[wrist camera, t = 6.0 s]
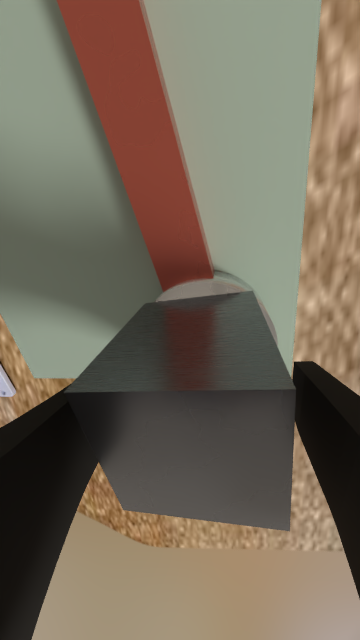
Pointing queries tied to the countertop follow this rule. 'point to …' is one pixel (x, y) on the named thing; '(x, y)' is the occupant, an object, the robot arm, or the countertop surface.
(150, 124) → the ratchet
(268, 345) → the brushed grey square block
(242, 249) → the mat
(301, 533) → the countertop surface
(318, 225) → the countertop surface
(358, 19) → the countertop surface
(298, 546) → the countertop surface
